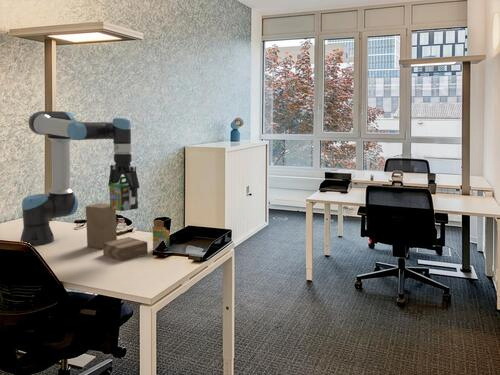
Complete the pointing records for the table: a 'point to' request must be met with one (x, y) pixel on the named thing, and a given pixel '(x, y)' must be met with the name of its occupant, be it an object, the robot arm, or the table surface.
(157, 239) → the crayon box
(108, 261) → the table surface
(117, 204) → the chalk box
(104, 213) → the wooden block
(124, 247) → the walnut block
